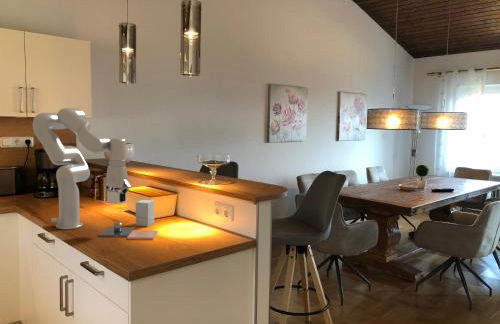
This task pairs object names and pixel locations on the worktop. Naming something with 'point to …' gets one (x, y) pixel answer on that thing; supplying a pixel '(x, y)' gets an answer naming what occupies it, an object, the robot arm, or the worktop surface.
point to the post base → (117, 231)
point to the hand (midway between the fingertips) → (117, 200)
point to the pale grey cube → (114, 197)
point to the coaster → (142, 235)
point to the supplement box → (144, 213)
